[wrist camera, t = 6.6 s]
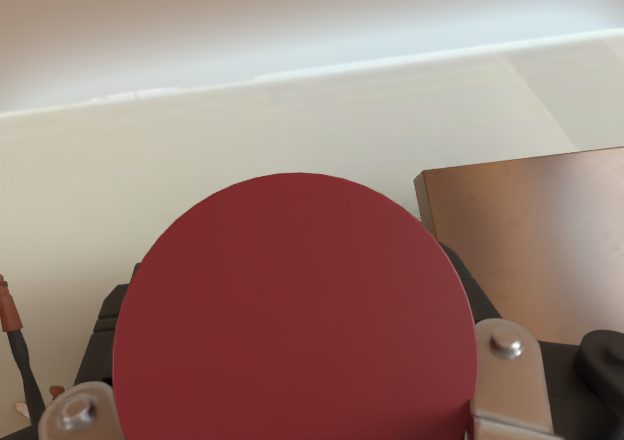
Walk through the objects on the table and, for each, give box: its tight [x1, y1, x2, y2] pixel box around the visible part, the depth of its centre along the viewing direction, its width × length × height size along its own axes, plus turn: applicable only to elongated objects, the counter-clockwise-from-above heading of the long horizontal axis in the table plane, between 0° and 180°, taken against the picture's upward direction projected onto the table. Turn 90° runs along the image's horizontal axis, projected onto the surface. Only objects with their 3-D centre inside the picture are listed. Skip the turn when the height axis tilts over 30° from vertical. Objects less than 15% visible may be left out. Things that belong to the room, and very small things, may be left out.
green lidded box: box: [414, 146, 624, 345], centre depth 24 cm, size 12×12×10 cm
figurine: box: [0, 274, 65, 425], centre depth 23 cm, size 10×9×20 cm
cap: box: [112, 173, 479, 440], centre depth 11 cm, size 6×6×8 cm
